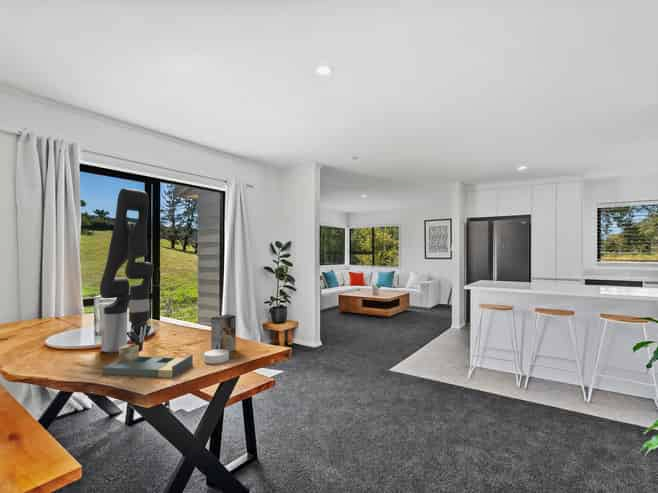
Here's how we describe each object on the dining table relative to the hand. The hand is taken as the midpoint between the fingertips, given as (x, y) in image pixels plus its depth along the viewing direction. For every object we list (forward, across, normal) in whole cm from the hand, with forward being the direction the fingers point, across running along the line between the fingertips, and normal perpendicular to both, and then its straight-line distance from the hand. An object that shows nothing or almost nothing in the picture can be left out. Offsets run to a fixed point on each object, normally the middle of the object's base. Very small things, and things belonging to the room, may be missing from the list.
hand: (139, 351), depth 145 cm
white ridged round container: (+4, -4, +32) cm, 32 cm away
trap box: (+4, +10, +11) cm, 15 cm away
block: (+1, +6, 0) cm, 6 cm away
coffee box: (+4, -16, +30) cm, 34 cm away
